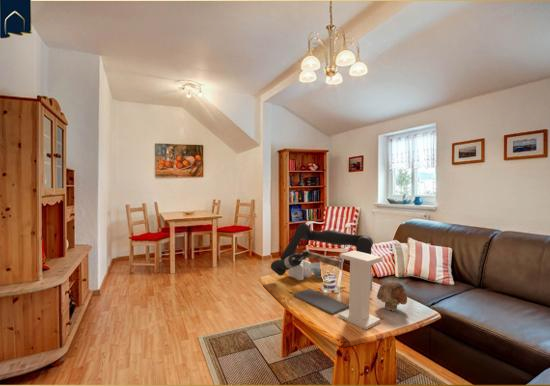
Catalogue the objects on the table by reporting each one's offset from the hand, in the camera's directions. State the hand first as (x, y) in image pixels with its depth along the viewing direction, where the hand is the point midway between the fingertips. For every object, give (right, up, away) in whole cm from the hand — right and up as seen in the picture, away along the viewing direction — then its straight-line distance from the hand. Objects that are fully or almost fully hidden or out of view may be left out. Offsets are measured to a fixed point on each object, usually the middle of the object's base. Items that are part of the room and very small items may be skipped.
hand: (310, 252), depth 165 cm
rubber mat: (+5, -27, -6) cm, 28 cm away
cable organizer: (-3, -25, +34) cm, 42 cm away
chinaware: (+12, -25, +37) cm, 47 cm away
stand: (+21, -28, -26) cm, 43 cm away
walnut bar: (+5, -3, -6) cm, 8 cm away
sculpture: (+42, -28, -14) cm, 53 cm away
